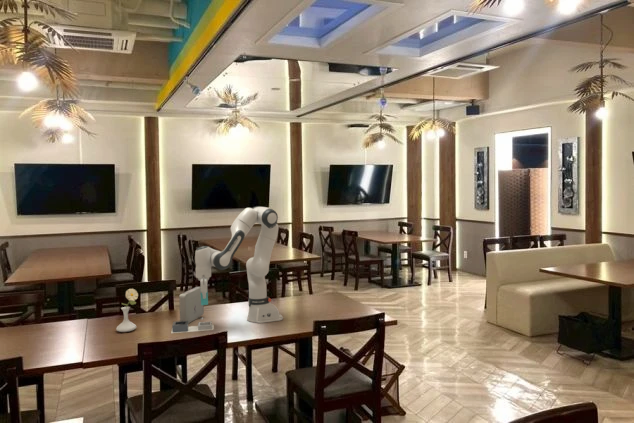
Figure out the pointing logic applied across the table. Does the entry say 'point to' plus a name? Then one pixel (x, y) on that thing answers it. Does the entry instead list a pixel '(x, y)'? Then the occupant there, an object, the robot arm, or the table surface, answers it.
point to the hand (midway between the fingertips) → (204, 297)
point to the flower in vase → (127, 324)
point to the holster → (204, 325)
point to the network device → (191, 305)
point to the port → (180, 326)
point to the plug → (204, 301)
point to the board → (193, 329)
